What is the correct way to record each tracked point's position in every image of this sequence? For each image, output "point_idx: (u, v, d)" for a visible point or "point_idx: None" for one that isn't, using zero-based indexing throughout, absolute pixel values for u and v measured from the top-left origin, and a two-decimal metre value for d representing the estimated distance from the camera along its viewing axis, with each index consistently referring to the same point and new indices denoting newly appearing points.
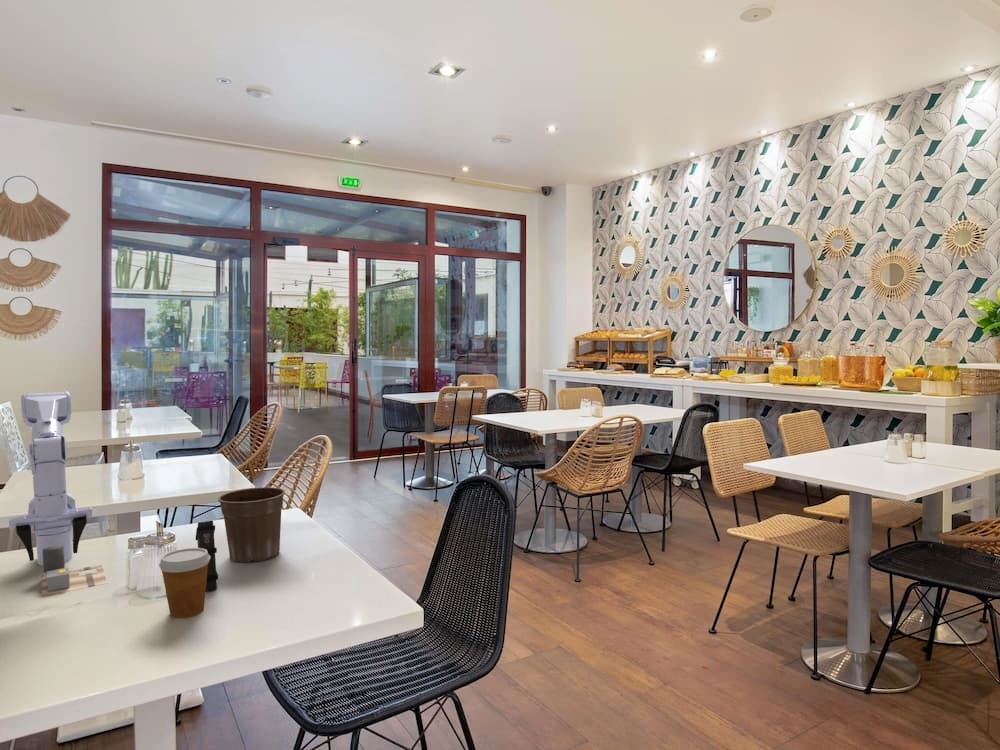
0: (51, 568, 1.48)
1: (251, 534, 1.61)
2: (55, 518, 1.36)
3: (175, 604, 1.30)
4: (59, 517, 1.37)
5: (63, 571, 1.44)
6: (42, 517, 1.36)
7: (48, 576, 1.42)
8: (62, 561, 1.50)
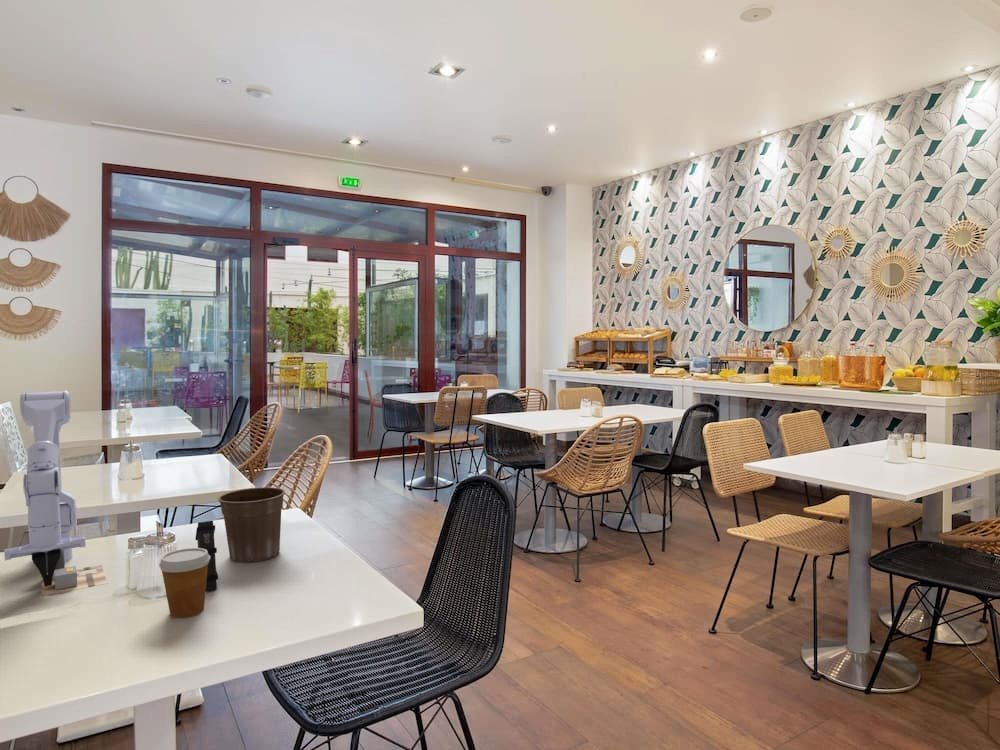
0: None
1: (251, 534, 1.61)
2: (49, 549, 1.40)
3: (175, 604, 1.30)
4: (53, 547, 1.41)
5: (71, 570, 1.45)
6: (36, 548, 1.40)
7: (56, 575, 1.43)
8: (62, 561, 1.50)
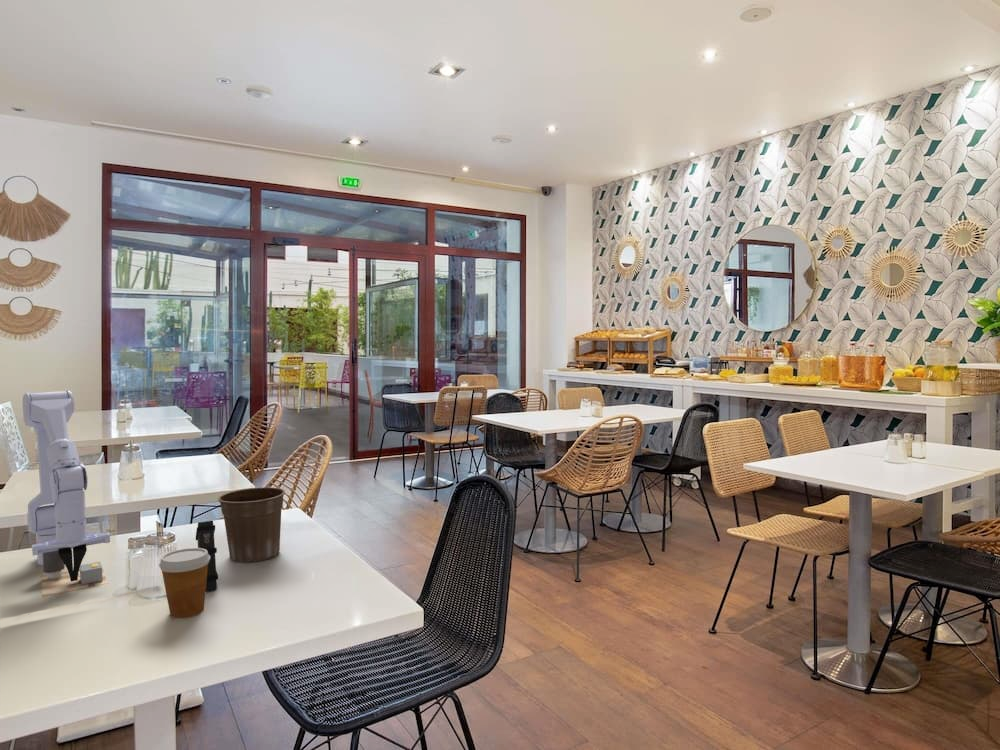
0: (51, 568, 1.48)
1: (251, 534, 1.61)
2: (75, 544, 1.43)
3: (175, 604, 1.30)
4: (79, 543, 1.44)
5: (96, 565, 1.48)
6: (63, 543, 1.43)
7: (82, 570, 1.45)
8: (62, 561, 1.50)
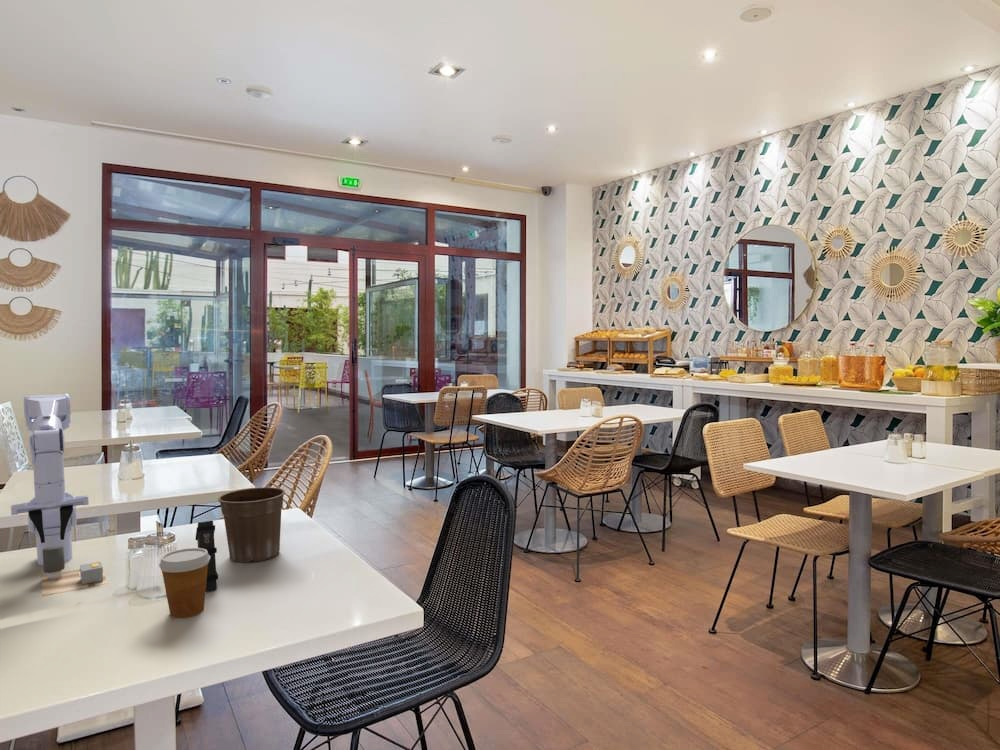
0: (51, 568, 1.48)
1: (251, 534, 1.61)
2: (54, 504, 1.46)
3: (175, 604, 1.30)
4: (57, 504, 1.47)
5: (96, 565, 1.48)
6: (42, 504, 1.46)
7: (82, 570, 1.46)
8: (62, 561, 1.50)
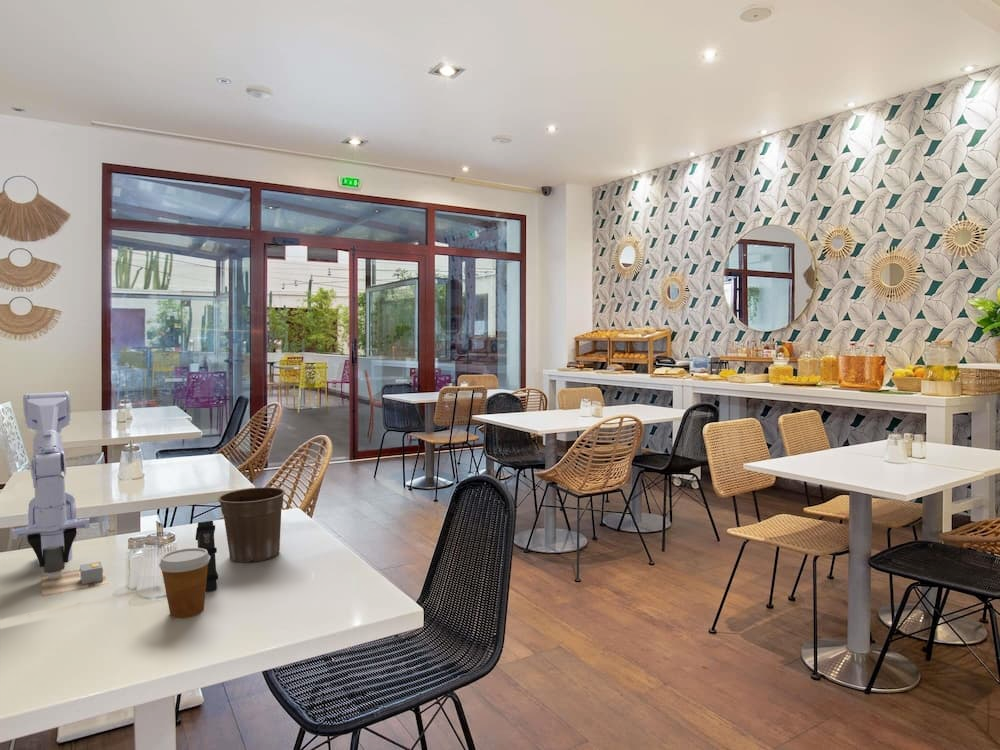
0: (51, 568, 1.48)
1: (251, 534, 1.61)
2: (55, 529, 1.46)
3: (175, 604, 1.30)
4: (59, 528, 1.47)
5: (96, 565, 1.48)
6: (43, 528, 1.46)
7: (82, 570, 1.46)
8: (62, 561, 1.50)
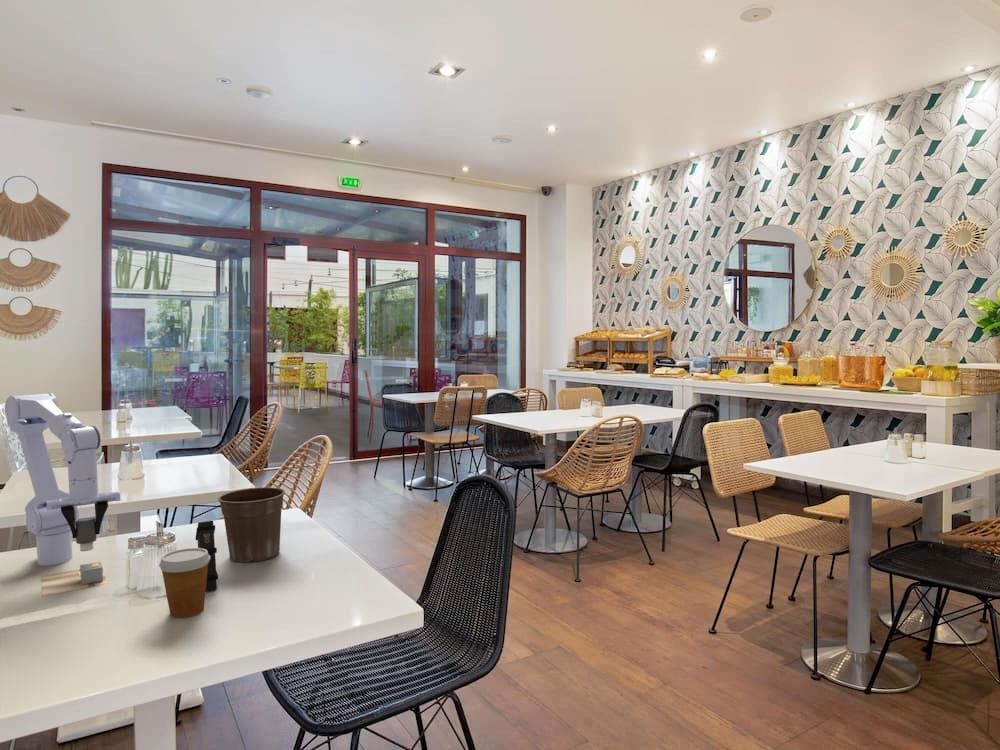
0: (84, 539, 1.51)
1: (251, 534, 1.61)
2: (88, 500, 1.50)
3: (175, 604, 1.30)
4: (91, 500, 1.51)
5: (96, 565, 1.48)
6: (76, 500, 1.50)
7: (82, 570, 1.46)
8: (94, 533, 1.53)
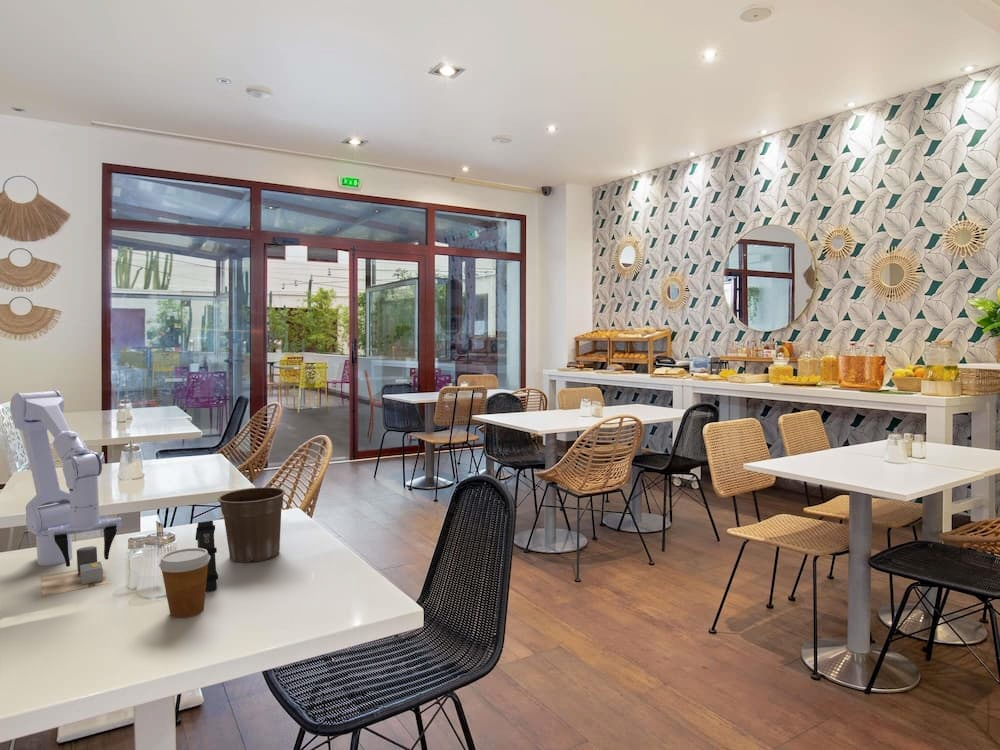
0: None
1: (251, 534, 1.61)
2: (89, 528, 1.50)
3: (175, 604, 1.30)
4: (92, 527, 1.51)
5: (96, 565, 1.48)
6: (77, 527, 1.50)
7: (82, 570, 1.46)
8: None
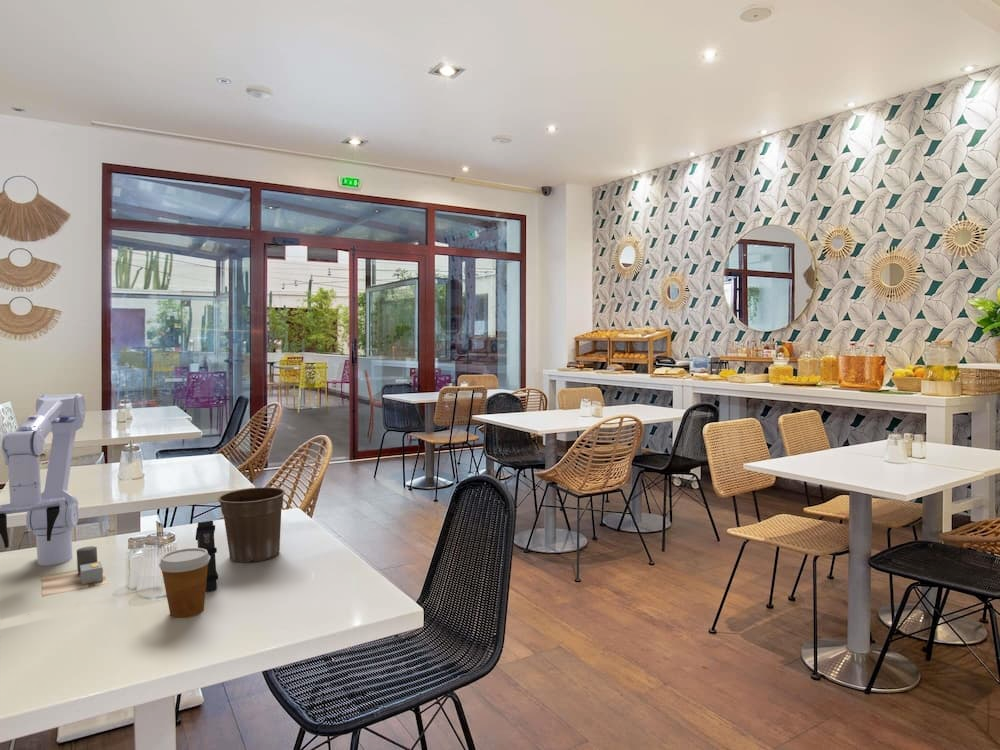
0: None
1: (251, 534, 1.61)
2: (29, 507, 1.44)
3: (175, 604, 1.30)
4: (33, 506, 1.45)
5: (96, 565, 1.48)
6: (16, 506, 1.44)
7: (82, 570, 1.46)
8: None
